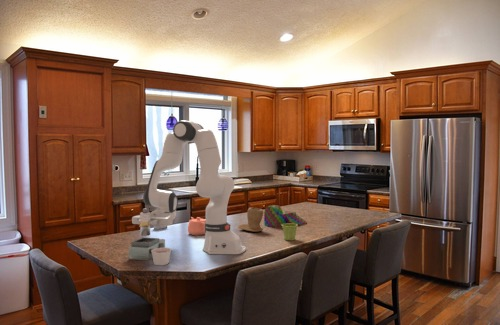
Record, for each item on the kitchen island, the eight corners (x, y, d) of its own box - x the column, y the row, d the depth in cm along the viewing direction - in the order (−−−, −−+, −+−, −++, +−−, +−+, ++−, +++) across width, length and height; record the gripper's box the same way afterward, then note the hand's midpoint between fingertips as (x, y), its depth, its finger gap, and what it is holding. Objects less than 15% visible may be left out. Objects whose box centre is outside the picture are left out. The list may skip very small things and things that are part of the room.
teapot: (196, 237, 236) (196, 220, 236) (183, 232, 251) (183, 216, 251) (213, 235, 243) (212, 218, 242) (199, 230, 258) (199, 214, 257)
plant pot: (278, 239, 230) (278, 224, 230) (289, 237, 236) (289, 222, 236) (289, 242, 223) (289, 227, 223) (301, 239, 229) (301, 224, 229)
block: (282, 229, 260) (282, 207, 259) (264, 225, 272) (264, 205, 272) (306, 224, 276) (306, 203, 276) (288, 220, 289) (288, 201, 288)
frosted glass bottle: (152, 233, 199) (151, 208, 198) (147, 236, 194) (147, 209, 193) (143, 233, 200) (143, 207, 199) (138, 235, 195) (138, 209, 195)
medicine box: (163, 226, 270) (163, 214, 270) (167, 227, 267) (167, 214, 267) (153, 228, 264) (153, 215, 263) (158, 229, 261) (157, 216, 261)
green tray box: (166, 250, 207) (165, 236, 206) (149, 260, 189) (148, 244, 189) (147, 249, 209) (147, 235, 209) (129, 259, 192) (129, 243, 192)
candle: (167, 266, 179) (166, 252, 179) (148, 265, 181) (148, 252, 180) (174, 261, 188) (173, 247, 188) (156, 260, 190) (156, 247, 189)
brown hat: (267, 231, 254) (267, 207, 253) (254, 234, 245) (254, 209, 245) (250, 227, 264) (250, 205, 264) (237, 230, 256) (237, 207, 255)
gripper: (139, 211, 212) (125, 215, 198) (175, 212, 207) (162, 217, 193) (139, 223, 212) (125, 228, 199) (175, 224, 207) (163, 230, 194)
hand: (144, 223), depth 196 cm, fingers closed on frosted glass bottle, 5 cm apart
